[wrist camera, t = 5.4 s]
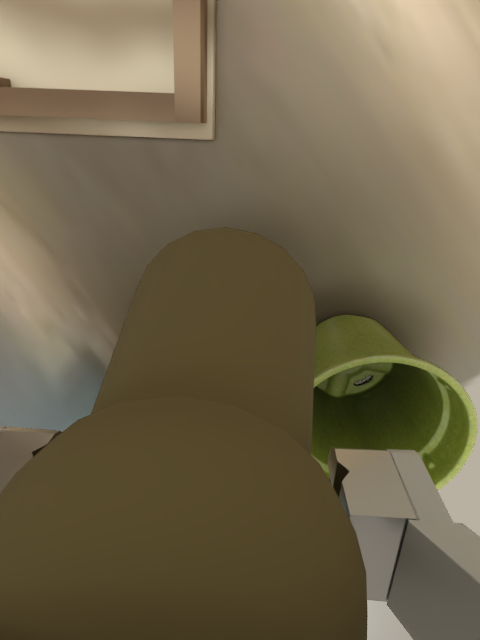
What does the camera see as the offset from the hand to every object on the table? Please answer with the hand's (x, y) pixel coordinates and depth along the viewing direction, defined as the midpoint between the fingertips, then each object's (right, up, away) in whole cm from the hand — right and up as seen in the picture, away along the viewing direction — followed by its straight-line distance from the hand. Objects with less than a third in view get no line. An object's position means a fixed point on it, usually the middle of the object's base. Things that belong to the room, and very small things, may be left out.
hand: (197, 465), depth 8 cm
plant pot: (+8, 0, +21) cm, 22 cm away
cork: (0, +3, +6) cm, 7 cm away
